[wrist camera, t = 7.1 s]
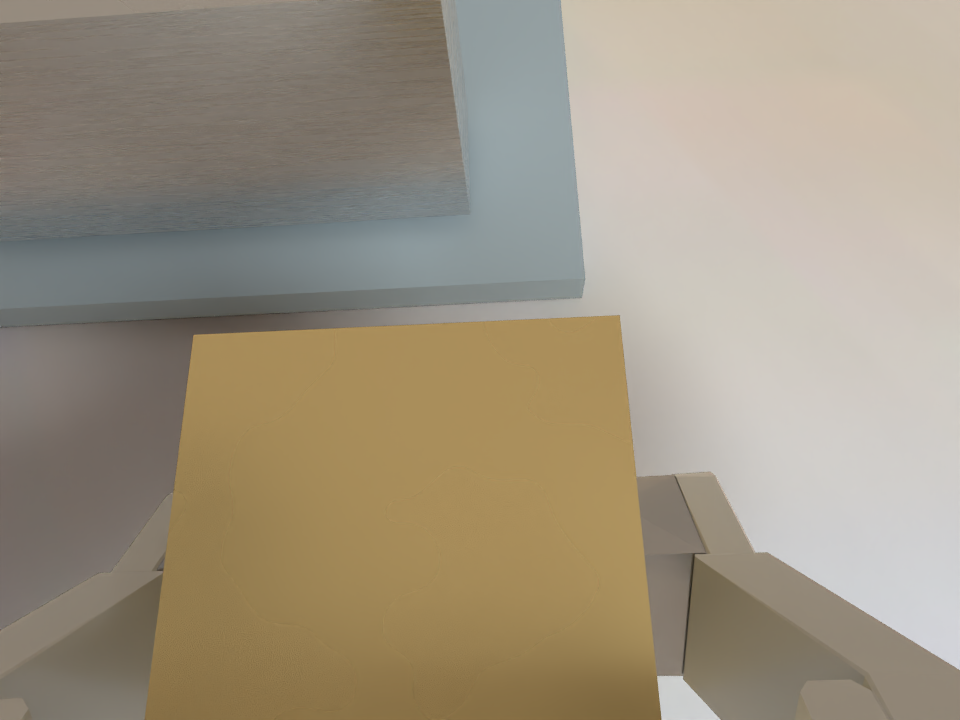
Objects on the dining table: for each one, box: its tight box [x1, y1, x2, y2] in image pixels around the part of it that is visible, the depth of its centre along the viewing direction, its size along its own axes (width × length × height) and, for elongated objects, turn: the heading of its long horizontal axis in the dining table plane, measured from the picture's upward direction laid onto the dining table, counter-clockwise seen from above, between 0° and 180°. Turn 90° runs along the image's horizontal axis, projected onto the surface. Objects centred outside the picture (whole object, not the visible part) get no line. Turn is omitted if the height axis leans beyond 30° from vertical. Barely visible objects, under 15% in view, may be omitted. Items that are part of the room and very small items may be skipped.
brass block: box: [144, 315, 661, 720], centre depth 10 cm, size 4×4×8 cm
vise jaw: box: [0, 0, 470, 241], centre depth 14 cm, size 12×3×6 cm, turn 92°
